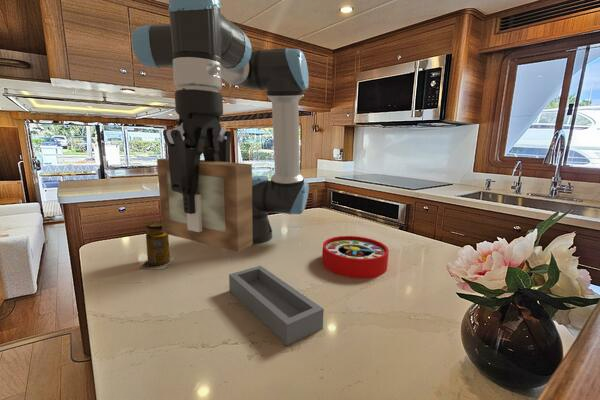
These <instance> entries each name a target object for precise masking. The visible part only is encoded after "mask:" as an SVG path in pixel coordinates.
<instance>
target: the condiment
mask: <svg viewBox="0 0 600 400" xmlns="http://www.w3.org/2000/svg"><path fill="white" fill-rule="evenodd" d="M169 240H170V239H169V235H168V234H164V233H163V229H162V221H158V222H157V221H155V222H151V223H148V224H146V234H145V242H146V254H147V260H146V261H145V262H144V263H142V265H140V266H139V267H138V269H142V270H143V269H144V270H164V269H166V267H168V265H170V264H171V262H172V261H174V260H175V258H176V257H175V256H172V257H170V244H169V243H170V242H169Z"/></svg>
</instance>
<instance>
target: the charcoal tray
mask: <svg viewBox="0 0 600 400" xmlns="http://www.w3.org/2000/svg"><path fill="white" fill-rule="evenodd" d="M228 279H229V281H228V283H229V287H228V288H229V289H228V290H229V292H230V293H231V295H232V294H233V296H234V297H235V298H237V300H238V301H239V302H241V303H242V304H243V305H244V307H246V308H247V309H248V310H249V311H250V312H251V313H252V314H253V315H254V316H255V317H256V318H257V319H258V320H259V321H260V322H261V323H262V324H263V325H264V326H265V327H267V328H268V329H269V330H270V331H271V332H272V333H273V335H275V336H276V337H277V338H278V339H279V340H280V341H281V342H282V343H283V344H284V345H286V346H287V347H288V346H291V345H292V344H294V343H296V342H298V341H301V340H302V339H304V338H306V337H308V336H310V335H313V334H314V333H316V332H318V331H322V330H323V329H324V313H325V312H324V310H325V309H324V307H321V306H320V305H319V304H317V303H316V302H315V301H313V300H312V299H310V298H308V297H307V296H306V295H304V294H303V293H301V292H300V291H298V290H297V289H296V288H294V287H293V286H291V285H290V284H288V283H287V282H285V281H284V280H283V279H281V278H280V277H279V276H277V275H275V274H274V273H272V272H271V271H269V270H268V269H266V268H265V267H263V266H262V265H258V266H254V267H250V268H248V269H243V270H240V271H235V272H232V273H229V274H228Z"/></svg>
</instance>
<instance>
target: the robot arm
mask: <svg viewBox="0 0 600 400" xmlns="http://www.w3.org/2000/svg"><path fill="white" fill-rule="evenodd" d="M221 9H222V4H221V0H168V8H167V11H168V12H169V13H168V14H169V15H168V16H169V23H163V24H162V23H161V24H152V23H150V24H146V25H140V26H138V27H136V28H134V30H133V31H132V34H131V39H130V40H131V45H132V46H131V47H132V50H133V51H132V52H133V54H134V56H135V58H136V59H137V60H138V62H140V64H142V65H143V66H144V67H147V68H156V69H161V68H168V69H172V72H173V86H174V87H175V88H177V90H176V91H175V92H174V104H175V105H174V106H175V113H176V114H177V115H178V121H177V123H176V124H177V125H176V126H175V127H174V128H171V129H164V130H163V132H162V135H163V139H164V140H165V143H166V145H167V146H166V147H167V155H168V156H167V157H168V158H169V169H170V179H171V189H172V191H174V192H178V193H181V194H182V195H183V204H184V212H185V213H187V226H188V230H191V231H195V232H201V231H202V215H201V195H200V194H196V192H197V183H198V174H199V163H200V160H201V156H202V155H203V160H205V161H219V162H230V163H231V141H232V137H233V133H232V131H230V130H225V129H223V128H222V124H221V121H220V117H222V116H223V114H224V98H223V95H222V93H221V92H219V91H221V90H222V89H223V83H222V82H223V80H224V81H225V82H226V83H227V84H229V85H235V86H237V87H242V88H246V89H250V90H257V91H258V90H259V91H266V97H267V98H268V99H269V100H270V101H271V110H272V111H271V113H272V132H273V133H272V134H273V135H272V136H273V157H274V173H273V175H272V176H271V177H270V180H269V177H268V176H267V175H255V176H253V175H252V228H253V244H260V243H261V244H262V243H265V242H268V241H270V240H271V239H272V238H273V229H272V226H271V223H270V220H269V217H268V216H269V213H275V214H283V215H284V214H286V215H301V214H302V213H304V212H305V209H306V206H307V203H308V198H309V191H310V186H309V182H307V181H305V177H304V175H303V174H302V173H301V172H300V127H299V126H300V121H299V120H300V115H299V111H300V109H299V102H300V100H301V99H302V98H303V97H304V91H305V90H308V89H309V80H310V79H309V69H308V63H307V60H306V56H305V53H303V51H302V50H301V49H299V48H288V47H285V48H273V49H272V48H271V49H252V48H253V47H252V43H251V41H250V39H249V37H248V36H247V35H246V34H245V32H244V31H243V30H242V29H241V28H240V27H239V26H237V25H236V24H234V23H233V22H232V21H230V19H228V18H226V17H225V16H224V15H223V14H222V13H221ZM222 79H223V80H222ZM188 186H189V187H188Z"/></svg>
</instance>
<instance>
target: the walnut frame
mask: <svg viewBox="0 0 600 400" xmlns="http://www.w3.org/2000/svg"><path fill="white" fill-rule="evenodd" d="M156 164H157V165H156V166H157V178H158V188H159V189H158V190H159V191H158V192H159V203H160V214H161V222H162V229H163V233H164V234H168V236H173V237H176V238H180V239H181V238H182V239H185V240H189V241H192V242H193V241H194V242H197V243H201V244H206V245H209V246H213V247H218V248H220V249H221V248H222V249H226V250H229V251H233V252H237V253H238V252H241V251H243V250H244V249H246V248H249V247H250V246H252V245H253V244H254V243H253V228H252V177H253V168H252V167H253V165H252V163H239V162H231V161H230V162H219V161H205V160H204V159H200V163H199V174H198V183H197V192H196V194H200V195H201V215H202V231H201V232H195V231H191V230H188V226H187V213H185V212H184V204H183V195H182V194H181V193H178V192H174V191H172V189H171V179H170V169H169V158H156ZM188 187H189V186H188Z"/></svg>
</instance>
